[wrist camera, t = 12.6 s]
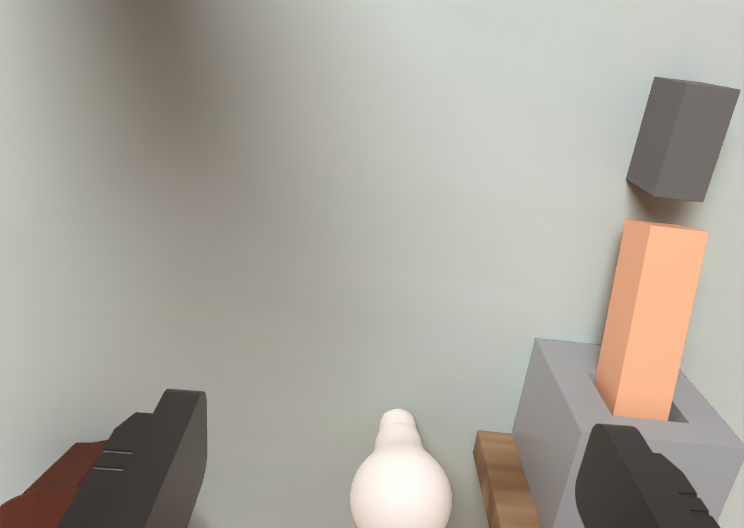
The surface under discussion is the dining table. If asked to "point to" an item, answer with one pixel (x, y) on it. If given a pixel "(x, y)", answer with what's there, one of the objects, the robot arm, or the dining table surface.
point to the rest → (681, 138)
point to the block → (586, 408)
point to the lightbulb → (400, 480)
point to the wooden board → (503, 482)
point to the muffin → (52, 490)
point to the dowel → (648, 317)
